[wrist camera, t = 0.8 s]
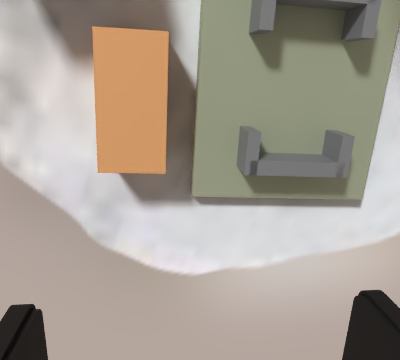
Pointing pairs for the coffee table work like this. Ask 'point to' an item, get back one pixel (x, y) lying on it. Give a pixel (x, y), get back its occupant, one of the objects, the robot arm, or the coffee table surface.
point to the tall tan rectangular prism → (130, 99)
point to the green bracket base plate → (290, 96)
